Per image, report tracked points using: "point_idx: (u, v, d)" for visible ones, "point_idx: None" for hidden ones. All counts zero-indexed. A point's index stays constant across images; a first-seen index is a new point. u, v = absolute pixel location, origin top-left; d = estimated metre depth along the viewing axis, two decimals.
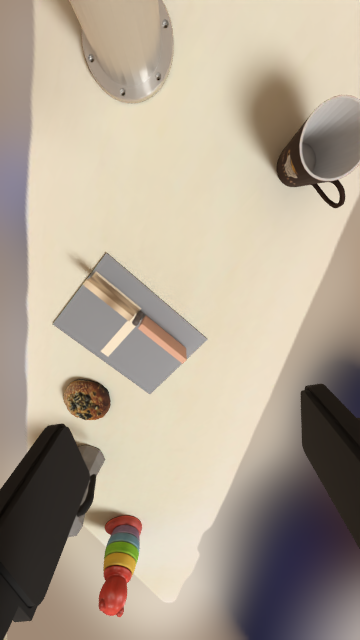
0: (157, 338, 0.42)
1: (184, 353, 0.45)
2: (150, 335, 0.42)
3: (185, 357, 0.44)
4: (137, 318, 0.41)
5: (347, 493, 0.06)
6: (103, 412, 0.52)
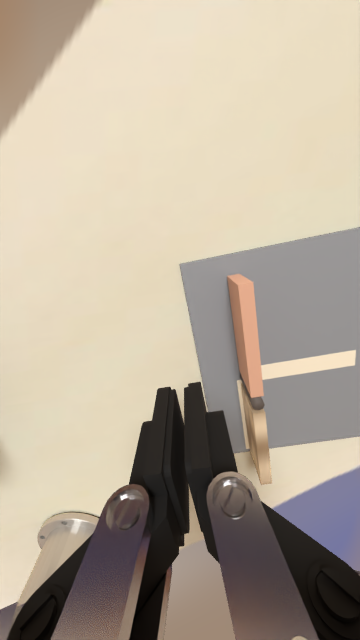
0: (250, 361, 0.20)
1: (233, 285, 0.20)
2: (255, 373, 0.21)
3: (237, 287, 0.19)
4: (250, 402, 0.23)
5: None
6: None
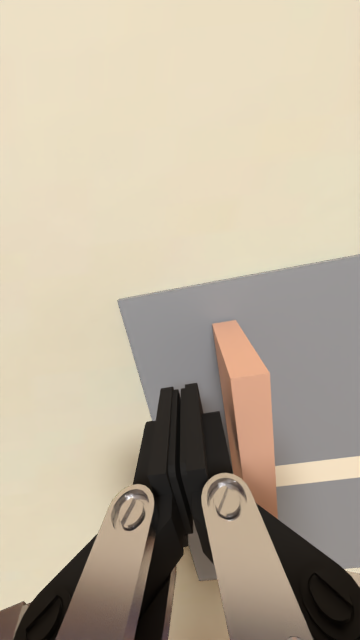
0: None
1: (221, 357, 0.09)
2: None
3: (228, 376, 0.08)
4: None
5: None
6: None
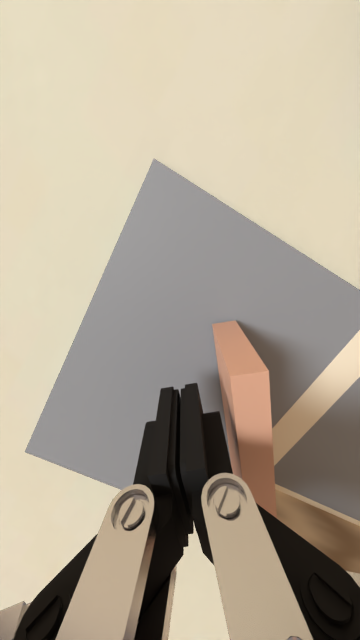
0: None
1: (221, 356, 0.09)
2: None
3: (228, 374, 0.08)
4: None
5: None
6: None
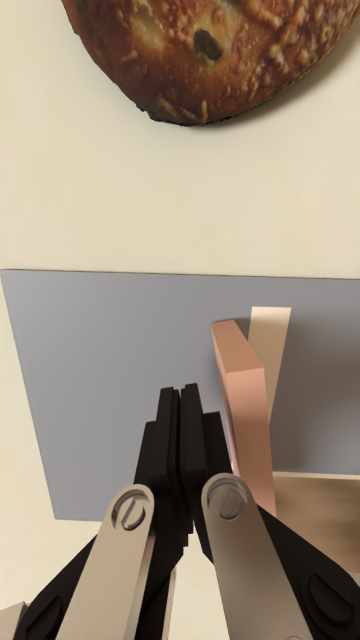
0: None
1: (218, 355, 0.09)
2: None
3: (224, 371, 0.08)
4: None
5: None
6: None
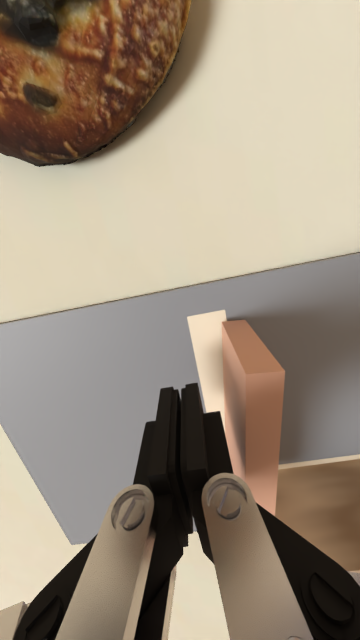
0: None
1: (232, 354, 0.09)
2: None
3: (241, 372, 0.08)
4: None
5: None
6: None
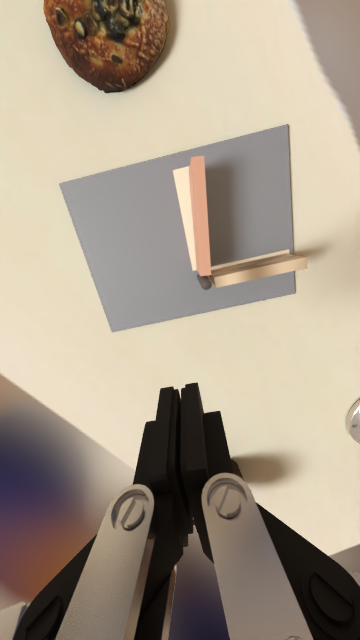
0: (200, 237, 0.23)
1: (190, 168, 0.23)
2: (204, 250, 0.24)
3: (191, 162, 0.21)
4: None
5: None
6: (57, 30, 0.20)
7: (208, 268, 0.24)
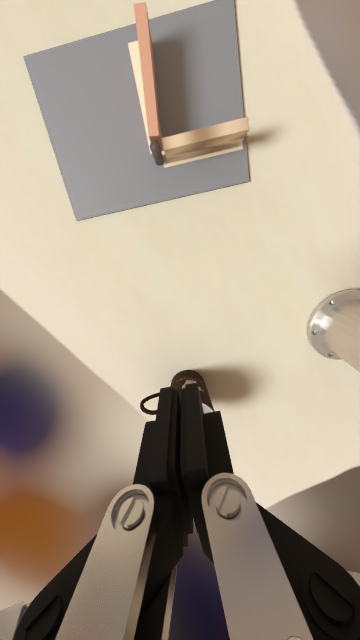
0: (146, 92, 0.25)
1: None
2: (150, 107, 0.25)
3: None
4: (158, 153, 0.28)
5: None
6: None
7: (155, 127, 0.26)
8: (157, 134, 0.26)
